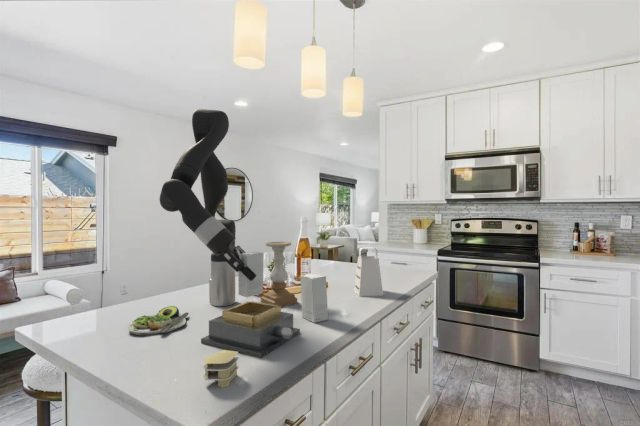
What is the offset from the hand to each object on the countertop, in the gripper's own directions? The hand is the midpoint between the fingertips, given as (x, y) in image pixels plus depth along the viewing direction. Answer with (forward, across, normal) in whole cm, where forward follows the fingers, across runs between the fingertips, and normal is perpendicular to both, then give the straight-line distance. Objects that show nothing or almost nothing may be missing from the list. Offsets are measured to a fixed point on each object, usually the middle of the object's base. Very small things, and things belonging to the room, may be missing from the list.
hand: (256, 275), depth 98 cm
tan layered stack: (+10, -24, +16) cm, 31 cm away
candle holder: (+16, +36, +11) cm, 41 cm away
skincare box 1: (+3, 0, +5) cm, 6 cm away
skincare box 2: (+25, +16, +1) cm, 30 cm away
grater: (+43, +49, -17) cm, 67 cm away
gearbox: (+13, -1, +13) cm, 18 cm away
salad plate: (-10, +12, +37) cm, 40 cm away
